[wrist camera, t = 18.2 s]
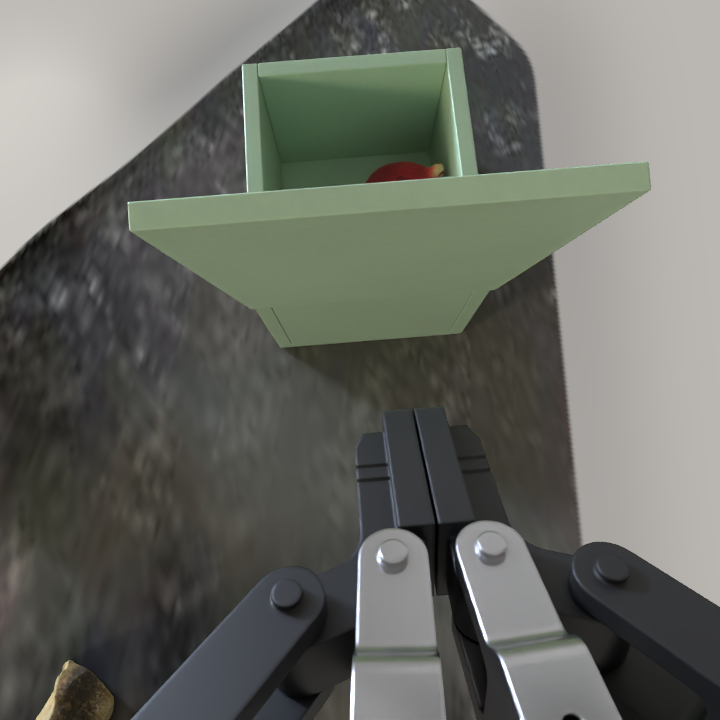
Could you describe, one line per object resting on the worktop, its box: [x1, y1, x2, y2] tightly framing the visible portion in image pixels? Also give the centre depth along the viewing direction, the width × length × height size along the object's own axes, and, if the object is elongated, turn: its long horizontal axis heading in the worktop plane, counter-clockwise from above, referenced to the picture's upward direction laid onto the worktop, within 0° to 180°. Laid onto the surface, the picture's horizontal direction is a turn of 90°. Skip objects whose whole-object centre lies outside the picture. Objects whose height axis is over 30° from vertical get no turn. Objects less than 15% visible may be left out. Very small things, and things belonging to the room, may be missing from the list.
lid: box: [128, 162, 651, 309], centre depth 23 cm, size 17×14×1 cm
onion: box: [365, 162, 445, 184], centre depth 40 cm, size 6×6×8 cm
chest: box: [242, 48, 490, 348], centre depth 39 cm, size 16×14×11 cm
